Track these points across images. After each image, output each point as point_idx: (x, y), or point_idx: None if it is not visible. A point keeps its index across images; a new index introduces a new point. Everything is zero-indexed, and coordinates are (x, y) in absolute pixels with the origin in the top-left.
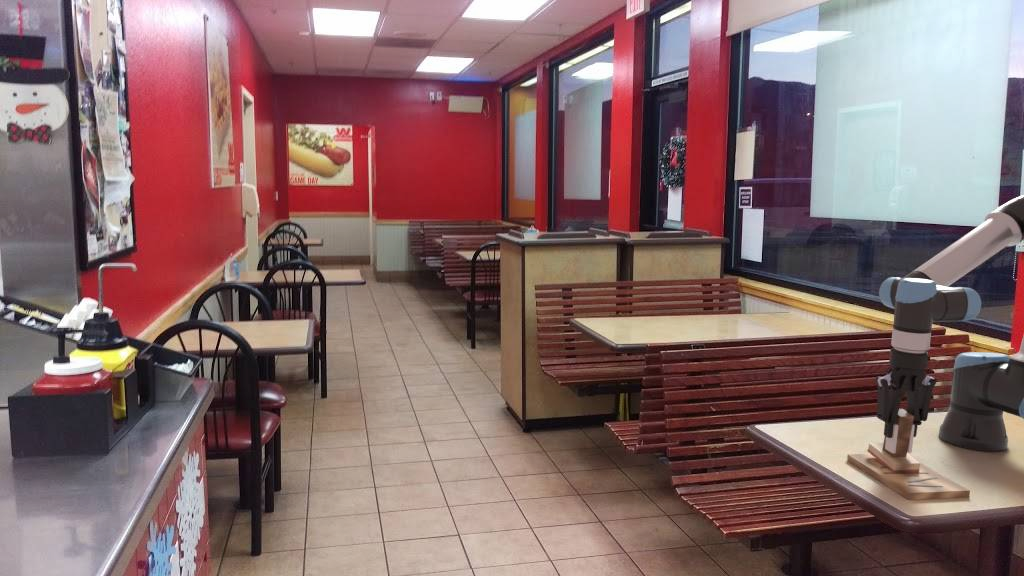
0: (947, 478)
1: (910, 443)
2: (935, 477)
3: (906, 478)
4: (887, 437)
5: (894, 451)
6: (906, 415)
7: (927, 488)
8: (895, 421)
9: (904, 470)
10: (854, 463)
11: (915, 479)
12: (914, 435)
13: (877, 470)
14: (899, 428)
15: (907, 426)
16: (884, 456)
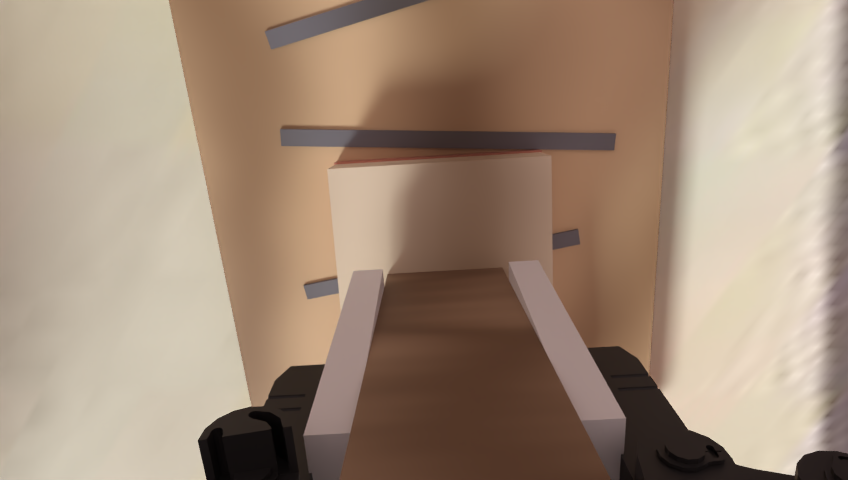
0: (183, 30)
1: (368, 304)
2: (273, 43)
3: (510, 37)
4: None
5: (522, 266)
6: None
7: None
8: (644, 466)
9: (456, 155)
10: None
11: (450, 16)
12: (299, 375)
13: (629, 194)
14: (548, 386)
15: (432, 405)
16: None
